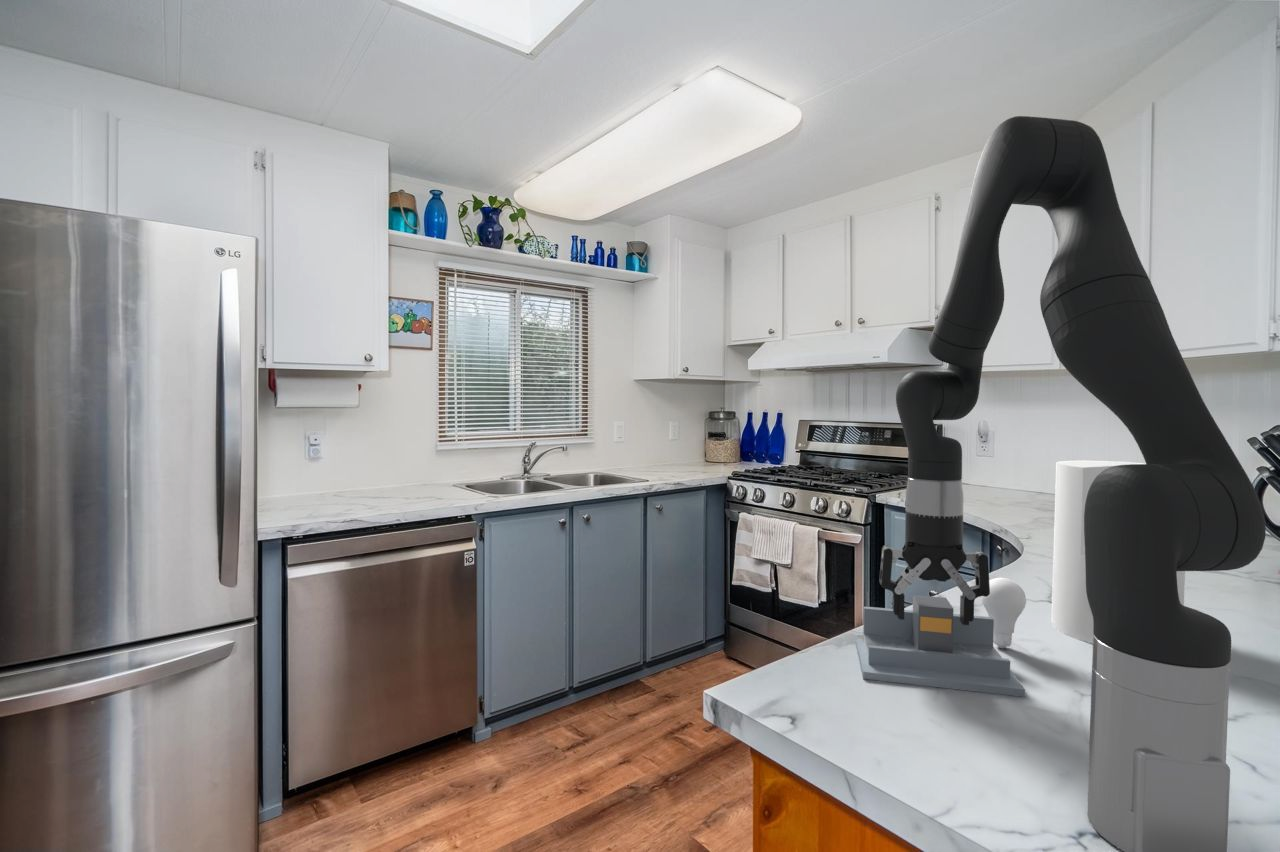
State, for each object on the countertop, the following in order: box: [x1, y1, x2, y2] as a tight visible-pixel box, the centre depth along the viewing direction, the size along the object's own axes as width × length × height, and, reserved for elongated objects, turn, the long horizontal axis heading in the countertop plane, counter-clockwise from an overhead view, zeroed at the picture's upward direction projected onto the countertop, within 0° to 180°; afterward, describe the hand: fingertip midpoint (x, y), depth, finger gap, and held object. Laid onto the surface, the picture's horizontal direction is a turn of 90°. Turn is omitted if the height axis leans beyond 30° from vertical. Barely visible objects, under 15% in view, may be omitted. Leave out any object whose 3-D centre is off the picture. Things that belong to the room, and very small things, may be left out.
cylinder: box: [1050, 459, 1186, 645], centre depth 102 cm, size 17×17×28 cm
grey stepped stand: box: [855, 606, 1026, 698], centre depth 89 cm, size 12×20×6 cm, turn 75°
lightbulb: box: [980, 577, 1027, 649], centre depth 96 cm, size 6×6×11 cm
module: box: [912, 594, 954, 653], centre depth 89 cm, size 5×4×7 cm
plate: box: [864, 634, 1003, 659], centre depth 90 cm, size 7×18×2 cm, turn 75°
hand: (932, 620), depth 89 cm, fingers open, 8 cm apart
